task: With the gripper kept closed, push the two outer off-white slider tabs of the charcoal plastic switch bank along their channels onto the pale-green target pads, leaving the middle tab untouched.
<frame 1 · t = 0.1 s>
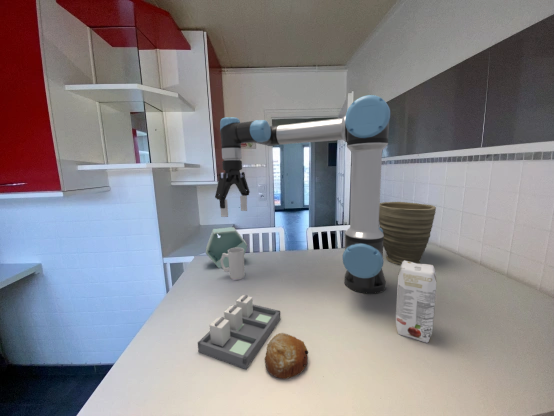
hand: (235, 213, 95), 28 cm above the table, fingers open, 13 cm apart
tab mid: (233, 317, 66), point 4 cm above the table, slide at 0.0 cm
planter: (227, 264, 115), on the table
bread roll: (286, 362, 56), on the table
tab near: (220, 330, 60), point 4 cm above the table, slide at 0.0 cm
juice carton: (412, 332, 64), on the table
tab far: (244, 305, 71), point 4 cm above the table, slide at 0.0 cm
vase: (401, 260, 114), on the table
mug: (233, 277, 101), on the table
switch bank: (243, 333, 65), on the table
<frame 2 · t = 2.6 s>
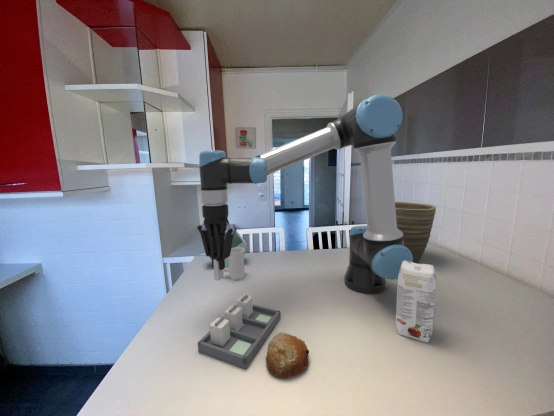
hand: (219, 278, 74), 12 cm above the table, fingers closed
nothing on the table moved.
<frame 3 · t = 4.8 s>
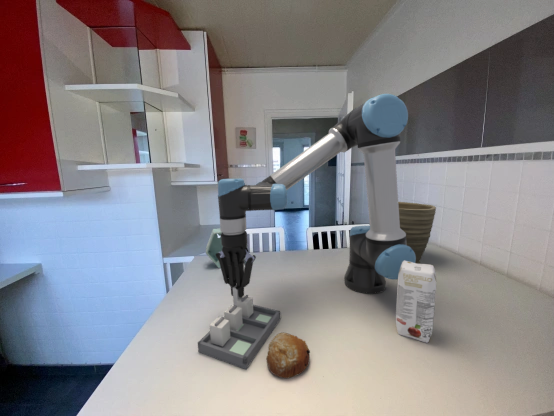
hand: (238, 305, 72), 4 cm above the table, fingers closed
tab far: (245, 305, 71), point 4 cm above the table, slide at 0.1 cm, touching gripper
everything else where it was.
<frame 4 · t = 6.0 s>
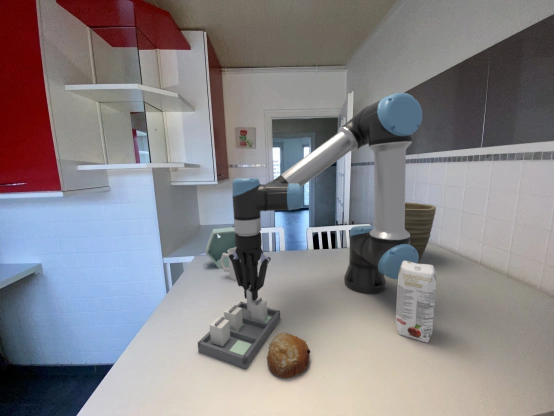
hand: (251, 308, 70), 4 cm above the table, fingers closed
tab far: (259, 309, 69), point 4 cm above the table, slide at 5.0 cm, touching gripper
everything else where it was.
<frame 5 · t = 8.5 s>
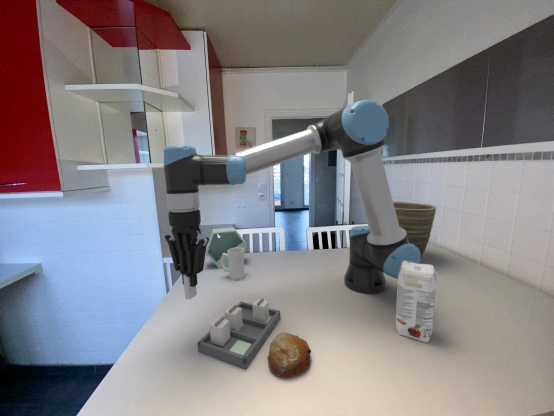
hand: (191, 296, 63), 12 cm above the table, fingers closed
tab far: (260, 309, 69), point 4 cm above the table, slide at 5.5 cm
everything else where it was.
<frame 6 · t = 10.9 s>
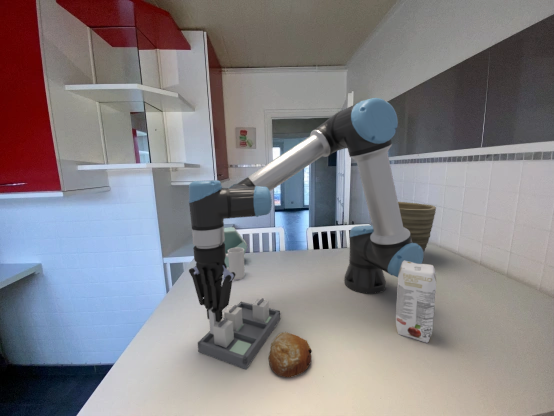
hand: (216, 330, 61), 4 cm above the table, fingers closed
tab near: (223, 331, 60), point 4 cm above the table, slide at 1.1 cm, touching gripper
everything else where it was.
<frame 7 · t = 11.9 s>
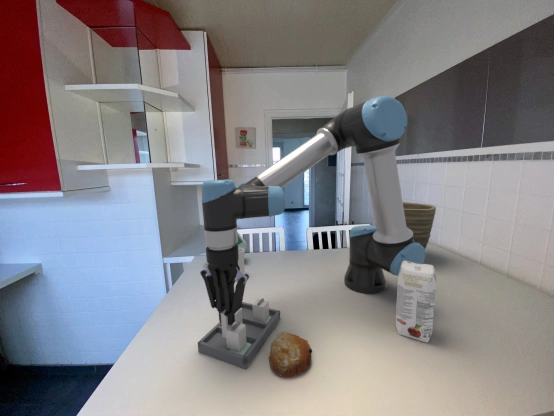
hand: (228, 334, 60), 4 cm above the table, fingers closed
tab near: (236, 335, 58), point 4 cm above the table, slide at 4.9 cm, touching gripper
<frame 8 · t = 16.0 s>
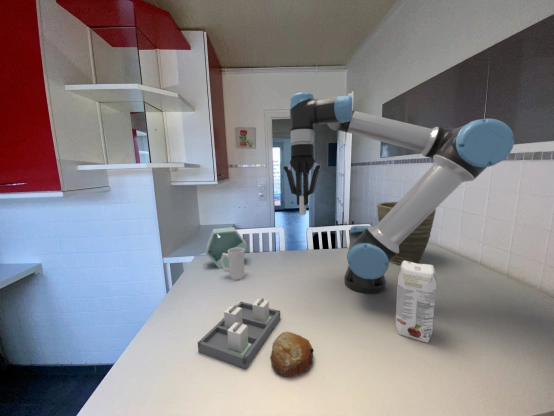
hand: (302, 214, 81), 29 cm above the table, fingers closed
tab near: (238, 335, 58), point 4 cm above the table, slide at 5.5 cm
at the end: tab far slide at 5.5 cm; tab near slide at 5.5 cm; tab mid slide at 0.0 cm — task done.
